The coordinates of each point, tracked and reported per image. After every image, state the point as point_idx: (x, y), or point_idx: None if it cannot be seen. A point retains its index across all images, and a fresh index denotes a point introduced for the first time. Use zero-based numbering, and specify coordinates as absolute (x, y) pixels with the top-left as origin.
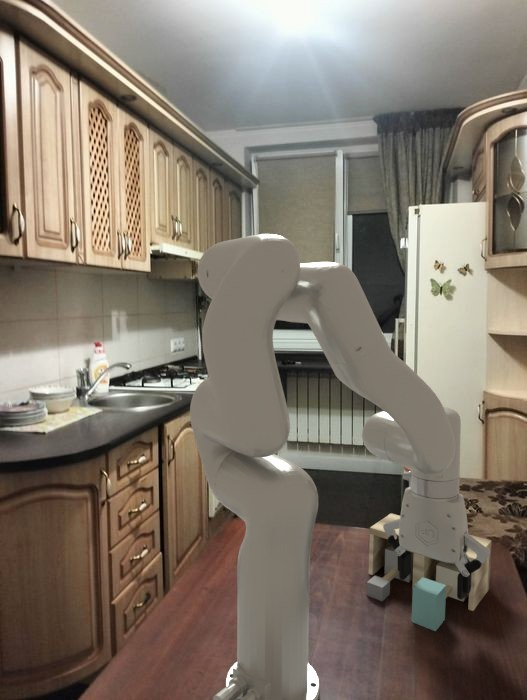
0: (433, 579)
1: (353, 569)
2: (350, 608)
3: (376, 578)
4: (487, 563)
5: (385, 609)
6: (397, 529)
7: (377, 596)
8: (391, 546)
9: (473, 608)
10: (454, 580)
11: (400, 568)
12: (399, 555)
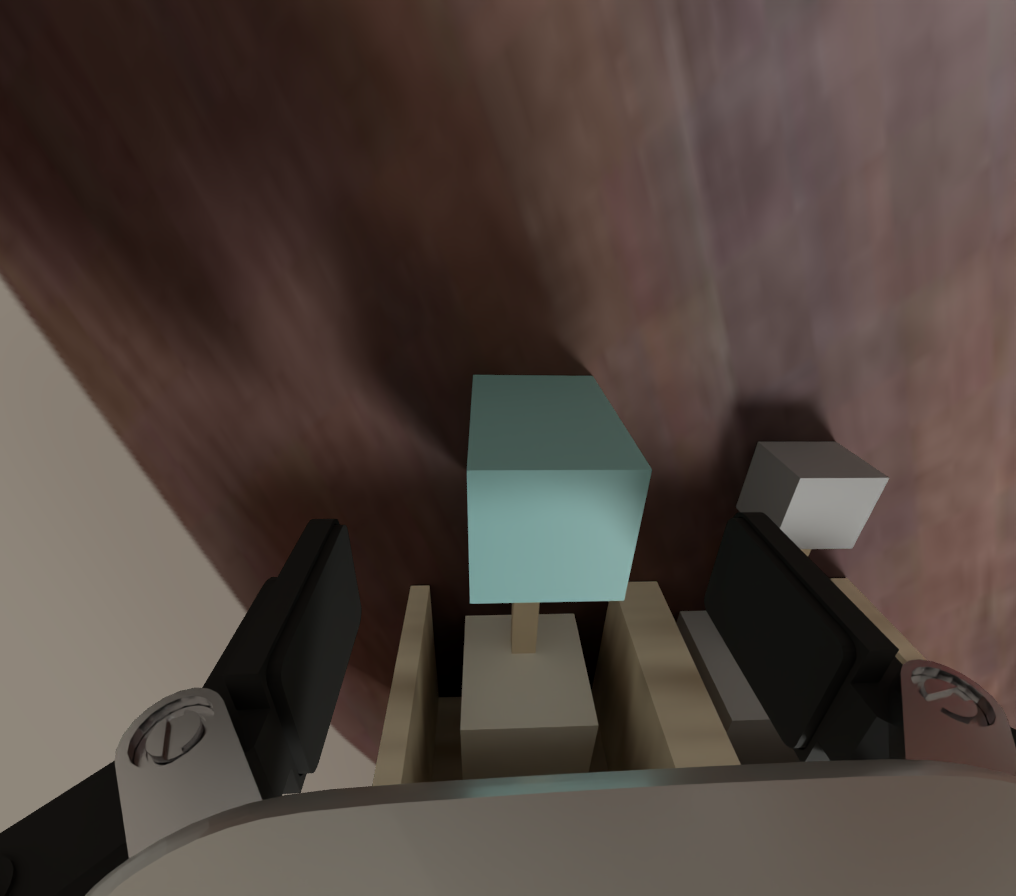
0: (601, 664)
1: (914, 572)
2: (906, 290)
3: (841, 530)
4: None
5: (730, 393)
6: None
7: (790, 449)
8: None
9: (409, 595)
10: (505, 682)
11: (806, 565)
12: (908, 667)
